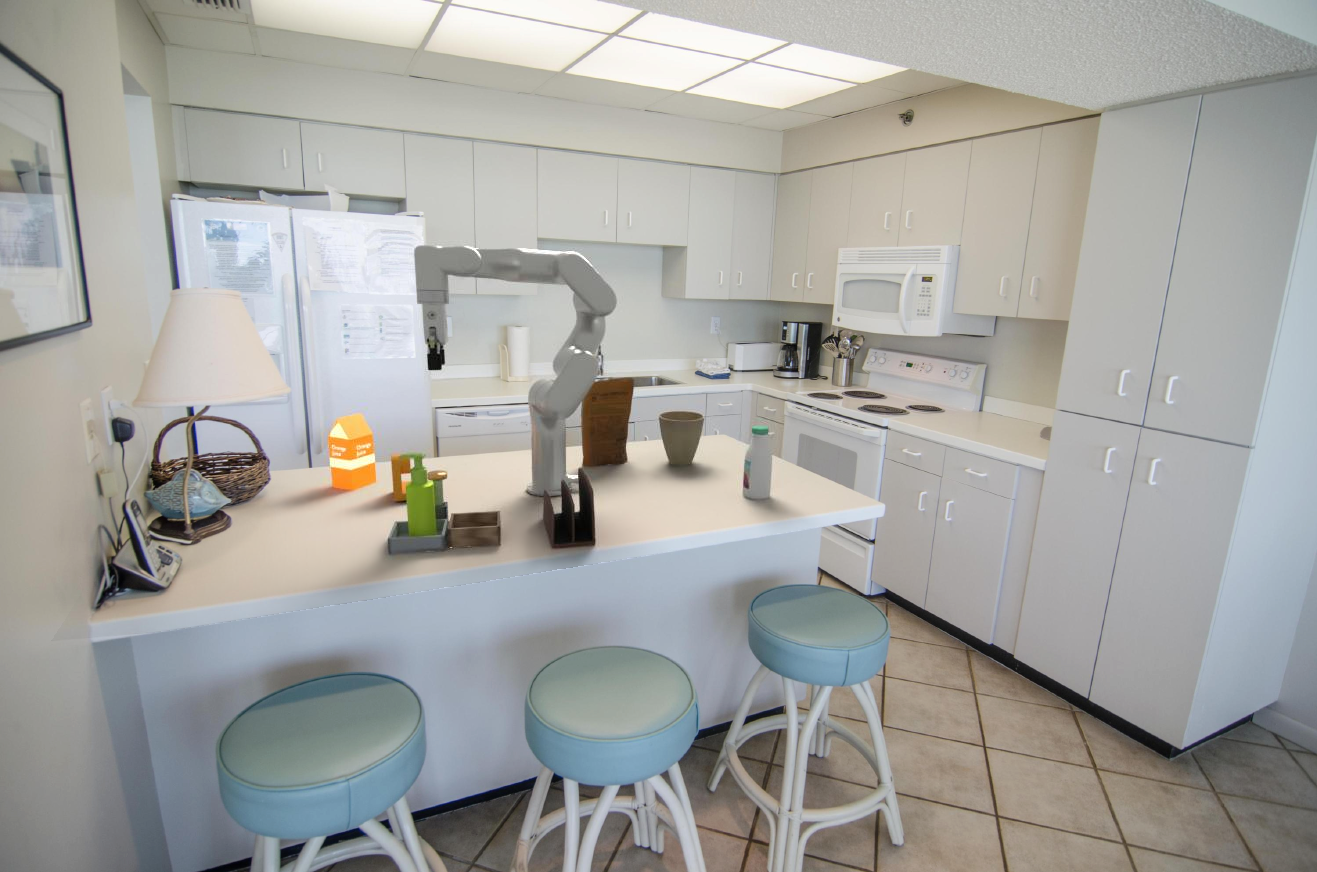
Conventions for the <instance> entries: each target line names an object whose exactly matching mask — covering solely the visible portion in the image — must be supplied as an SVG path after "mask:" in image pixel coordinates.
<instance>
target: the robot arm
mask: <svg viewBox="0 0 1317 872" xmlns="http://www.w3.org/2000/svg"><path fill="white" fill-rule="evenodd" d="M413 252H414V253H413V254H414V255H413V258H414V273H415V287H416V292H415V293H416V303H417V305H421V306H422V307H421V309H422V326H423V335H424V338H423V339H424V343H425V344H424V345H426V346H427V353H426V361H427V362H426V363H427V370H428V371H441V370H442V369H443V365H444V366H445V364H446V356H445V355H446V353H445V348H444V346H445V345H446V344H447V343H448V342H449V337H448V336H449V335H448V321H447V317H448V316H447V309H446V305H449V304H450V293H449V290H450V289H449V287H450V286H449V276H453V277H457V278H478V279H479V278H480V279H490V280H491V279H492V280H501V281H506V282H511V283H527V284H543V285H561V286H562V285H563V286H565V285H566V286H568V287H569V288H570V290H571V291H572V292H573V294H572V303H573V307H574V309H575V314H576V321H575V325H574V327H573V329H572V331H571V332H570V334H569V336H568V337H567V339H566V340H565V341H564V343H563V345H562V346H561V348H560V349H559V350H558V352H557V353H556V355H555V357H554V358H553V361H552V370H553V372H554V374H555V375H556V377H555V379H552V378H542V379H541V378H540V379H538V380H537V381H535V382H533V384H532V385H531V386H530V388H529V391H528V397H527V398H528V399H527V401H528V409H529V417H530V430H531V431H530V432H531V433H530V435H531V437H530V439H531V442H530V444H531V481H530V483H528V484H527V485H526V491H527V493H529V494H531V495H534V496H540V497H543V494H544V490H546V491H547V493H548V495H549V497H556V496H561V480H564V481H565V482H566V484H567V486H568V488H569V491H570V492H571V491H572V488H573V486H572V485H573V484H579V483H578V475H577V474H575V475H570V474H568V472H567V442H566V440H567V438H566V437H567V428H566V427H567V426H566V419H568V418H570V417H571V416H572V415H573V414H574V413H575V412H576V411H577V409H578V408H579V407H580V405H581V404H582V400H583V399H584V397H585V396H586V394H587V393H588V391H589V390H590V388H591V387H592V385H593V383H594V382H596V381H597V377H598V374H599V369H600V368H599V362H598V360H597V357H596V356H595V354H596V353H597V351H598V349H599V347H600V345H601V344H602V342H603V340H604V337H605V334H606V326H607V325H606V324H607V323H606V317H607V316H609V315H611V314H612V313H614V311H615V309H616V307H617V301H618V300H617V295H616V292H615V291H614V289H613V288H612V286H611V285H610V284H609V283H608V282H607V281H606V280H605V279H604V277H602V275H601V274H600V273H599V272H598V271H597V270H596V268H595V267H594V266H593V265H592V264H591V263H590V262H589V261H588V260H587V259H586V257H584V256H583V255H581V254H580V252H579V253H578V252H577V251H576V252H575V251H554V250H542V249H541V250H540V249H531V248H517V247H516V248H515V247H514V248H512V247H511V248H510V247H509V248H498V249H495V248H493V249H492V248H480V247H479V248H477V247H476V248H475V247H472V246H468V245H455V246H441V245H432V244H431V245H430V244H429V245H425V244H424V245H423V244H422V245H417V246H416V247H415V248H414V251H413Z"/></svg>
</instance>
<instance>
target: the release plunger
mask: <svg viewBox="0 0 1317 872" xmlns="http://www.w3.org/2000/svg"><path fill="white" fill-rule="evenodd" d="M447 478H448V471H446V470H431V471H429V472H428V471H427V480H428V481H432V482H433V483H434V500H435V507H438V506H444V502H445V501H444V485H443V483H444V480H447Z"/></svg>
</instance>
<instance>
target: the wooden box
mask: <svg viewBox="0 0 1317 872" xmlns="http://www.w3.org/2000/svg"><path fill="white" fill-rule="evenodd" d="M449 521H450V522H449V527H448V539H447V540H448V549H451V548H450V547H463V548H469V547H468V546H479V547H486V546H485V545H495V546H501V544H502V543H501V541H502V540H501V539H502V538H501V537H502V533H501V532H502V531H501V530H502V527H501V525H502V523H501V522H502V521H501V511H500V510H495V511H494V510H493V511H489V510H488V511H473V512H471V511H470V512H456V513H455V512H454V513H453V512H452V513H451V514H450V518H449Z"/></svg>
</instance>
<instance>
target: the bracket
mask: <svg viewBox="0 0 1317 872" xmlns="http://www.w3.org/2000/svg"><path fill="white" fill-rule="evenodd" d="M402 454H403V453H395V454H390V461H391V465H390V466H391V476H392V491H393V502H399V501H400V502H401V501H407V500H406V484H407V483H409V482H411V480H409V481H402V475H406V474H408V475H409V474H411V469H412V468H411V458H402V459H399V458H398V457H399V456H400V455H402Z"/></svg>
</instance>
